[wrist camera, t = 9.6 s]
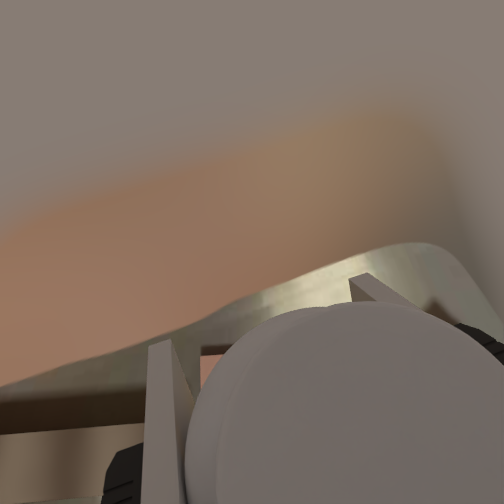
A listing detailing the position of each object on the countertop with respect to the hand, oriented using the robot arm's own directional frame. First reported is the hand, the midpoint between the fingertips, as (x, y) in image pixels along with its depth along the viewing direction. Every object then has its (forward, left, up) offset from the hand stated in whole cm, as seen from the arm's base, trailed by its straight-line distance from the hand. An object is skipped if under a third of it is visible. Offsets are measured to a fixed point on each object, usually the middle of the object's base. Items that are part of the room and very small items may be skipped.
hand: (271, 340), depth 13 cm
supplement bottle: (+1, -4, -5) cm, 6 cm away
